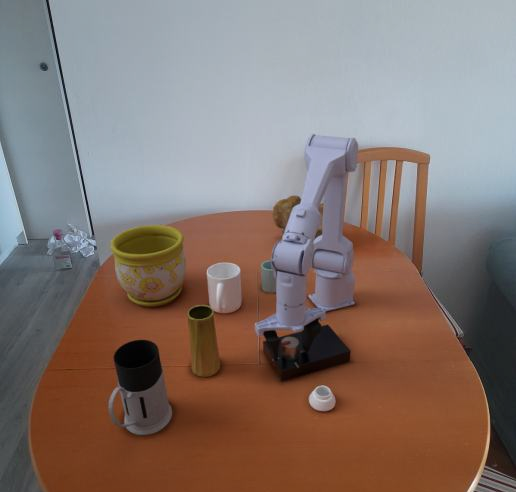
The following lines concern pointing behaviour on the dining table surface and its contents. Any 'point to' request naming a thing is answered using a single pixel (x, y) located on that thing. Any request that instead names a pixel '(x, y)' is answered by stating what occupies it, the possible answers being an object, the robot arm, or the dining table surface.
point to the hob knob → (290, 348)
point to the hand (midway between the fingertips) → (290, 353)
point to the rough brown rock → (284, 210)
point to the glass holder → (141, 388)
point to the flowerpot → (150, 263)
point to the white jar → (322, 399)
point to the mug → (224, 287)
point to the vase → (203, 341)
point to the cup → (267, 277)
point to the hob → (310, 355)
